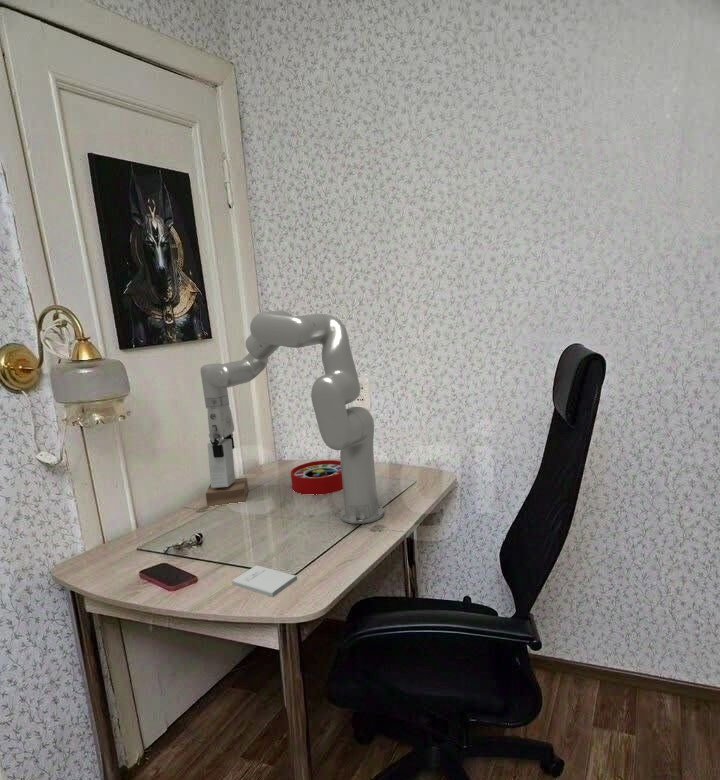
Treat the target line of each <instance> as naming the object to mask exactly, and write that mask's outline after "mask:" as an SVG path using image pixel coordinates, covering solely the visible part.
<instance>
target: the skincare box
mask: <svg viewBox="0 0 720 780" xmlns="http://www.w3.org/2000/svg"><path fill="white" fill-rule="evenodd" d="M217 440H218V439H217ZM221 445H222V446H223V453H224V456H223V457H218V458H214V455H213V448H212V445H211V442H208V443H207V453H208V455H207V456H208V465H209V466H208V468H209V478H210V480H209V481H210V484H211V488H217V487H228V486H230V485H231V484H232V483H233V482H235V479H236V477H235V476H236V475H235V473H236V472H235V464H234V463H235V462H234V454H233V451H234V449H232V439H224V438H222V440H221Z"/></svg>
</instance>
